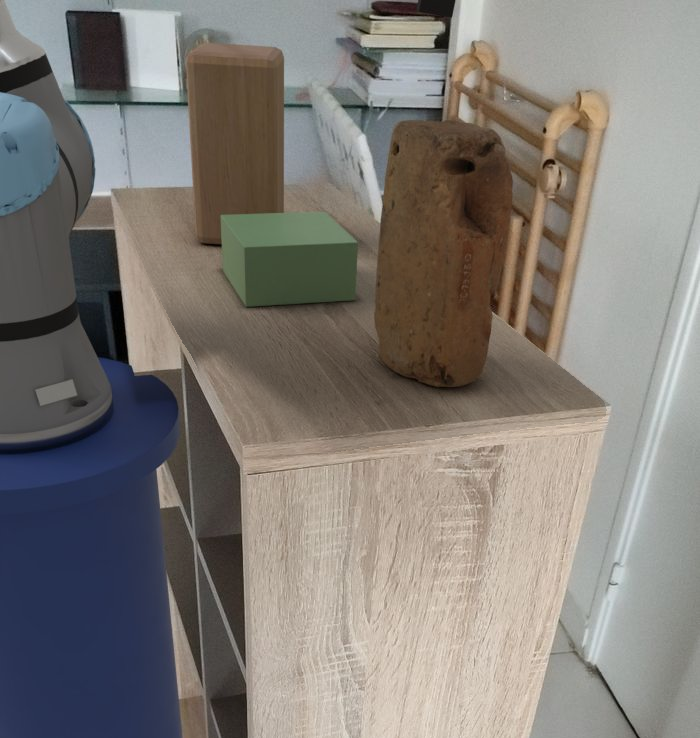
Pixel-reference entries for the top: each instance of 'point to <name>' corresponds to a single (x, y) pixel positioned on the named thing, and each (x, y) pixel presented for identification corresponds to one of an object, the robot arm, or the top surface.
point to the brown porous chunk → (441, 249)
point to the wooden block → (235, 133)
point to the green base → (288, 258)
